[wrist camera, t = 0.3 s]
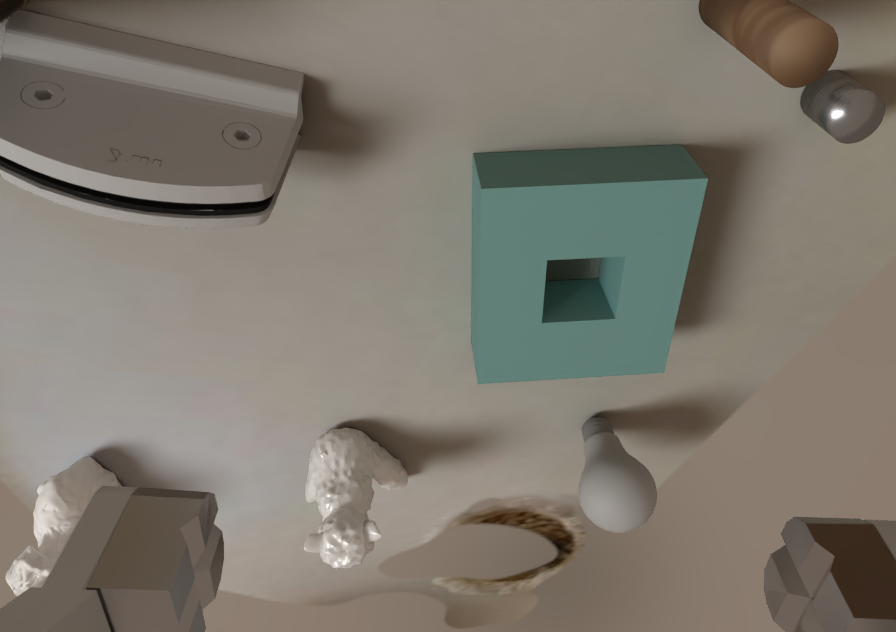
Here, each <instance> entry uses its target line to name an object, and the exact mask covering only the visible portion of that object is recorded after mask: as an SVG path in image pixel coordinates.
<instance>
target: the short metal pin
mask: <svg viewBox="0 0 896 632" xmlns="http://www.w3.org/2000/svg"><path fill="white" fill-rule="evenodd" d="M800 104H801V109H802V111H803V112H804V114H805V115H807V116H808V117H809V118H810V119H812V120H813V121H814V122H815V123H816V124H818V125H819V126H820V127H821V128H822V129H824V130H825V131H826V132H827V133H829V134H830V135H831V136H832V137H833V138H835V139H836V140H837V141H839V142H841V143H846V144H850V143H856V142H859V141H861V140H863V139H865V138H867V137H868V136H869V135H871V134H872V133H873V132H874V131H875V130H876V129H877V128H878V126H879V125H880V123H881V121H882V119H883V117H884V112H885V105H884V102H883V100H882V99H881V98H880V97H879V96H878V95H876V94H875V93H873V92H872V91H870V90H869V89H867V88H866V87H864V86H863V85H861V84H860V83H858V82H857V81H855V80H854V79H852V78H851V77H849V76H848V75H846V74H845V73H843V72H841V71H837V70H830V71H827V72H826V73H825V74H824V75H823V76H821V77H820V78H819V79H818V80H816V81H815V82H813V83H811V84H809V85H807V86H806V87H805V89H804V91H803V93H802V96H801V101H800Z"/></svg>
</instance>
